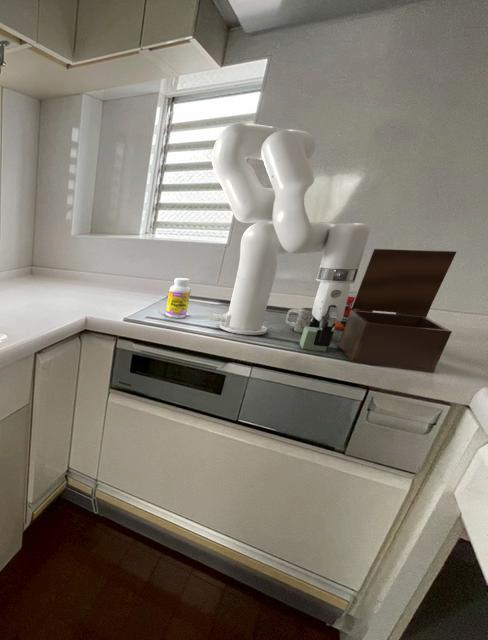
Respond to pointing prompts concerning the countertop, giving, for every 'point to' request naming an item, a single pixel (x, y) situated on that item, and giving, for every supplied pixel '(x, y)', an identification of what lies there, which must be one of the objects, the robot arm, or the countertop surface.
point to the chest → (394, 340)
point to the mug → (300, 318)
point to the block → (310, 339)
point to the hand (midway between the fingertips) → (317, 340)
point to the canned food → (347, 311)
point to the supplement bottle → (178, 298)
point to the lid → (402, 280)
